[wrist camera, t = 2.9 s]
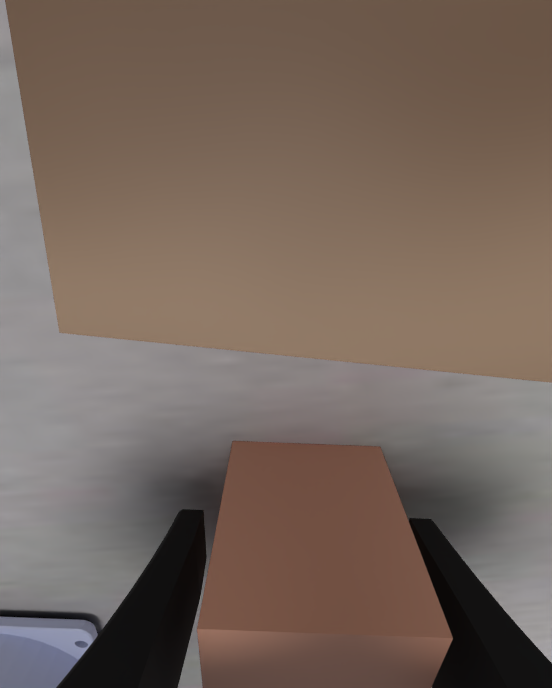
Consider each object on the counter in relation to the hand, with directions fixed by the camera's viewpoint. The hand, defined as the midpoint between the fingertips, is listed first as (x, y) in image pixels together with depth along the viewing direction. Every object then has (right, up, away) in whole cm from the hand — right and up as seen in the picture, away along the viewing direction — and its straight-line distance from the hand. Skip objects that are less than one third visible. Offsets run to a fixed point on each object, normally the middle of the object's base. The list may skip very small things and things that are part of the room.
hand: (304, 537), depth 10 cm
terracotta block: (0, +1, +1) cm, 2 cm away
